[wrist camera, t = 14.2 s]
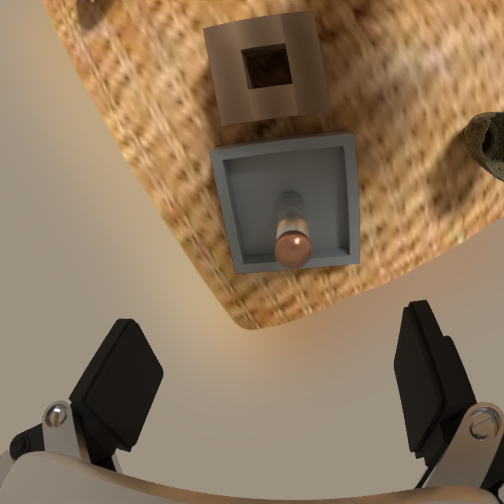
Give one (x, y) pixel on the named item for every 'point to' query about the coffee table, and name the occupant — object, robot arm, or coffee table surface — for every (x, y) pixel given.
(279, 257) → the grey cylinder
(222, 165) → the tray
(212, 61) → the hitch block
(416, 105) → the coffee table surface
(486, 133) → the cup
